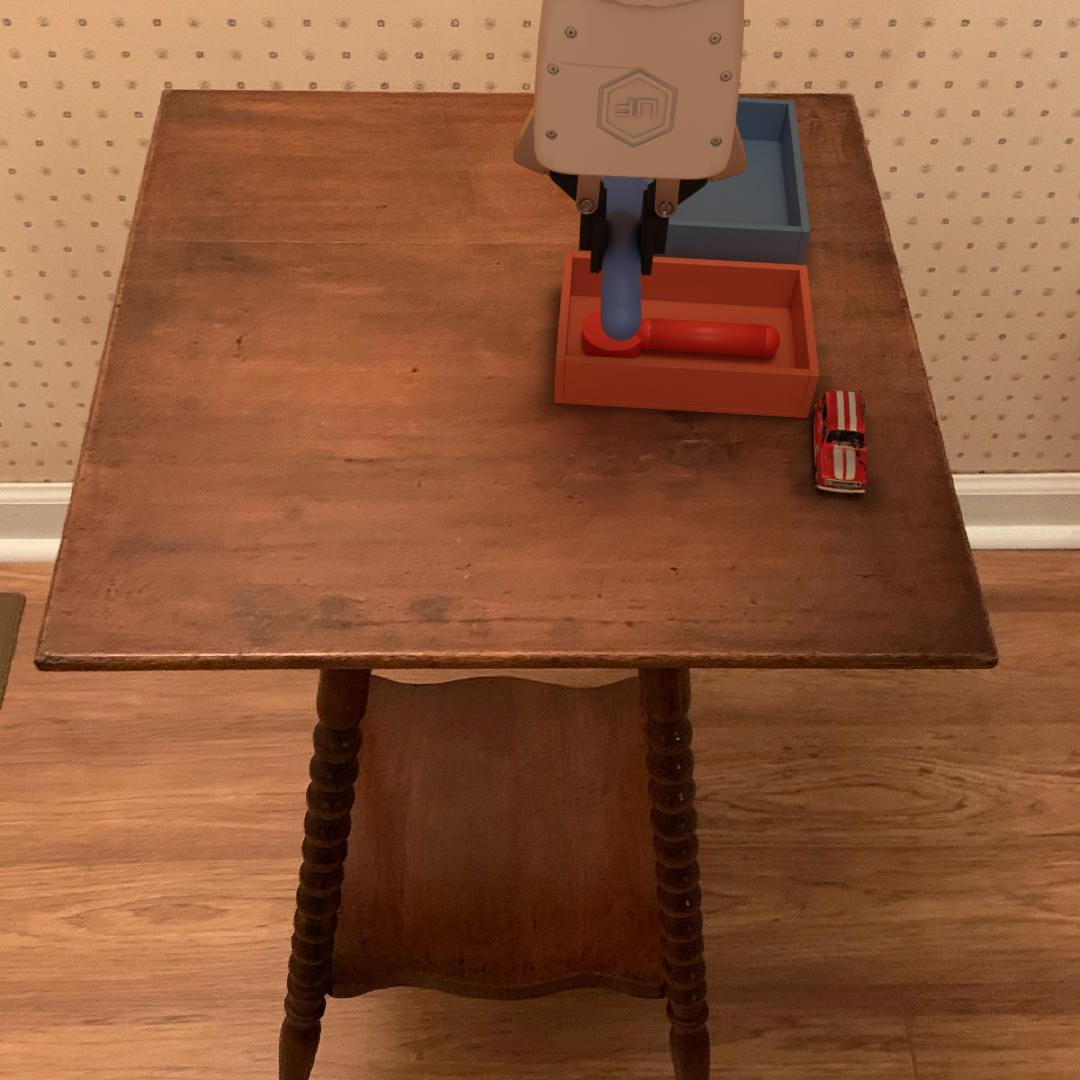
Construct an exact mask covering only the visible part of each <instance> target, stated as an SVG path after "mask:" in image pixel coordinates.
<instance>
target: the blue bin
mask: <svg viewBox="0 0 1080 1080" xmlns="http://www.w3.org/2000/svg"><path fill="white" fill-rule="evenodd" d="M796 108H797V107H796V100H794V99H778V98H777V99H776V98H759V97H758V98H757V97H741V96H740V97H739V96H738V104H737V113H736V124H737V127H738V130H739V133H740V136H741V139H742V142H743V145H744V148H745V154H746V165H747V167H746V170H745V171H744V172H743V173H741V174H738V175H735V176H732V177H728V178H725V179H722V180H719V181H716V182H713V181H711V182H707V184H706V185H705V186H704V187H703V188H702V189H700V190H699V191H697V192H696V193H695V194H693V195H692V196H690V197H689V198H688V199H686V200H685V201H683V202H682V203H681V204H679V205H678V206H677V210H676V212H675V214H674V215H673V216H671V217H669V224H668V232H667V240H666V248H665V254H653V257H669V258H687V259H705V260H723V261H740V262H758V263H776V264H794V265H804V264H803V263H804V260H805V255H806V251H807V246H808V242H809V239H810V234H811V227H810V218H809V211H808V202H807V201H808V200H807V193H806V185H805V178H804V177H805V175H804V167H803V160H802V151H801V142H800V134H799V126H798V117H797V109H796ZM640 179H643V180H645V181H647V182H648V183H652V182H653V181H654V179H651V178H640Z"/></svg>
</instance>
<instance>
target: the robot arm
mask: <svg viewBox="0 0 1080 1080" xmlns="http://www.w3.org/2000/svg"><path fill="white" fill-rule="evenodd" d="M537 34H538V35H537V48H536V49H537V50H536V63H535V78H534V92H533V93H534V95H533V104H532V107H531V108H530V110H529V112H528V114H527V116H526V119H525V120H524V122H523V124H522V126H521V128H520V130H519V131H518V134H517V135H516V138H515V140H514V142H513V153H512V159H513V162H514V163H516V164H517V165H518V166H521V167H523V168H526V169H528V170H530V171H533V172H534V173H536V174H537V173H538V174H540V175H542V176H544V175H546V176H548V177H549V178H550V180H551V181H552V182H553V183H554V184H555V185H556V186H557V187H559V188H560V189H561V190H562V191H563V192H564V193H565V194H566V195H567V196H568V197H569V198H570V199H571V200H573V201H574V202H575V208H576V210H577V211H578V212H579V213H580V221H579V238H578V252H590V253H591V259H590V273H599V271H602V257H603V254H604V244H605V231H606V214H607V188H604V182H603V181H602V180H601V178H602V177H627V178H651V179H654V181H653V182H652V183H650V184H649V185H648V186H647V190H644V192H643V202H642V212H641V222H640V255H641V273H642V275H649V276H651V272H652V263H653V254H665V248H666V240H667V232H668V224H669V217H671V216H673V215H674V214H675V212H676V210H677V206H678V205H679V204H681V203H682V202H683V201H685V200H686V199H688V198H689V197H690V196H692V195H693V194H695V193H696V192H697V191H699V190H700V189H702V188H703V187H704V186H705V185H706V184H707V182H711V181H713V182H716V181H719V180H722V179H725V178H728V177H732V176H735V175H738V174H741V173H743V172H744V171H745V170H746V167H747V165H746V154H745V148H744V145H743V142H742V139H741V136H740V133H739V130H738V127H737V124H736V113H737V104H738V97H739V95H740V85H741V78H742V77H741V75H742V63H743V53H744V37H745V36H744V34H745V0H542V3H541V11H540V19H539V27H538V33H537Z"/></svg>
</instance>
